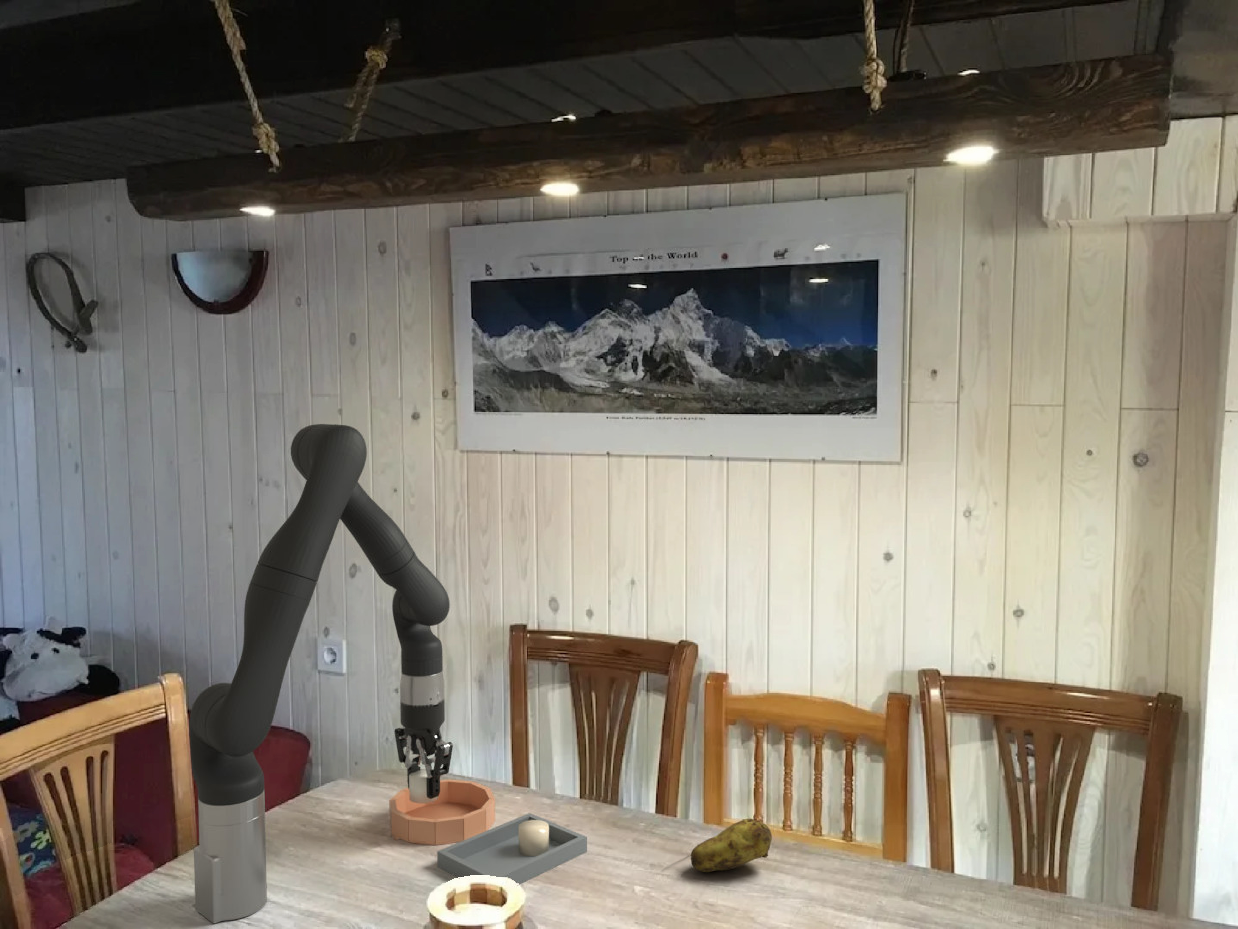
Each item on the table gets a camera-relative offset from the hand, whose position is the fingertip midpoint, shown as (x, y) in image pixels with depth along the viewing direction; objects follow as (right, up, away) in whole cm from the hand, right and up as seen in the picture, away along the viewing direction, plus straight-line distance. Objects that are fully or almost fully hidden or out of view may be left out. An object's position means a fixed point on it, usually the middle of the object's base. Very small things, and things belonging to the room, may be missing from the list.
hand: (423, 792), depth 173 cm
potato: (+52, -9, -12) cm, 54 cm away
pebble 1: (0, -1, 0) cm, 1 cm away
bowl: (+3, -7, +3) cm, 8 cm away
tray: (+17, -8, -11) cm, 22 cm away
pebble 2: (+20, -7, -7) cm, 22 cm away
